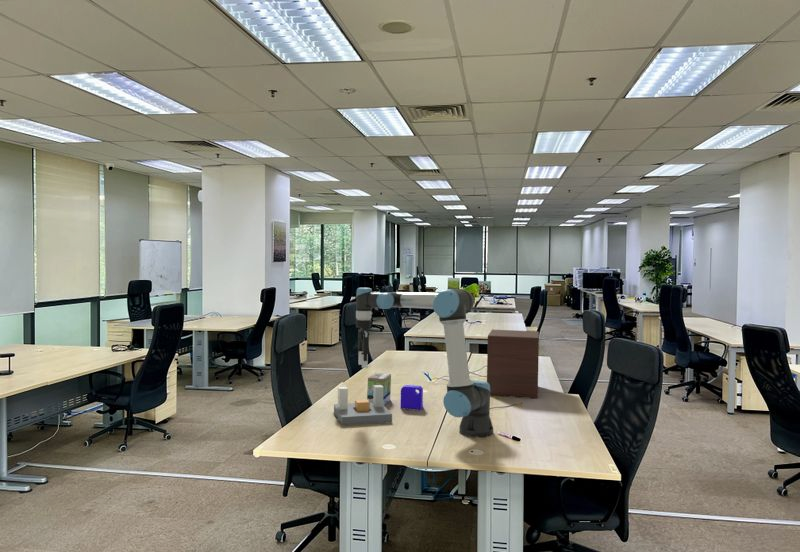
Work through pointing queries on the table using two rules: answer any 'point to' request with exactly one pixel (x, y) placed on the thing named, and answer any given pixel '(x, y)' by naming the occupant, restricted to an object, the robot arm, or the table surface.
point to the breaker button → (362, 405)
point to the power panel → (362, 415)
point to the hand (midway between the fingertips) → (362, 365)
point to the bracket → (412, 397)
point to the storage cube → (513, 363)
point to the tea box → (379, 380)
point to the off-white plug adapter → (342, 397)
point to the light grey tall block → (378, 395)
